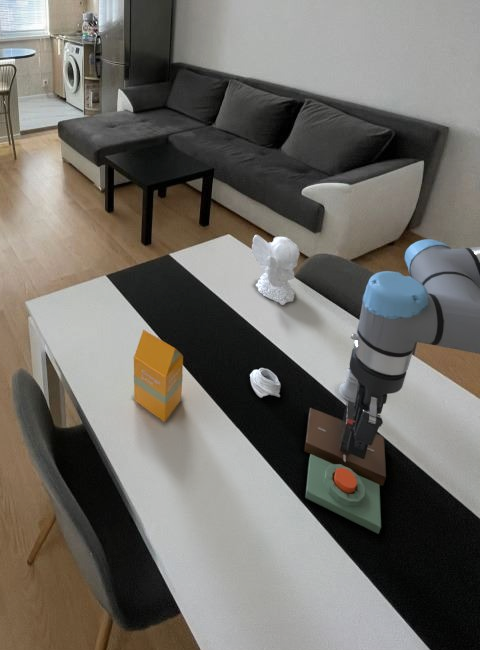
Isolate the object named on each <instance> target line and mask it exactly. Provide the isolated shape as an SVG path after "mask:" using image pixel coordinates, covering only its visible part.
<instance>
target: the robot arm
mask: <svg viewBox="0 0 480 650" xmlns="http://www.w3.org/2000/svg"><path fill="white" fill-rule="evenodd" d="M404 261H405V264H406V266H407V268H408V273H409V275H407V276H406V275H403V274H402V273H401V272H398V271H393V270H385V271H383V270H382V271H380V272H379V271H378V272H376V273H374V274H373V275H371V277H370V278H369V279H368V282H367V284H366V287H365V291H364V293H363V295H362V304H361V309H360V315H359V320H358V324H357V329H356V333H351V336H350V338H351V340H353V341H354V342H353V348H352V350H351V355H350V359H349V368H350V370H351V372H352V374H353V375H354V377H355V378H356V379H357V380H358V386H357V395H356V400H355V402H354V403H355V404H354V410H355V413H354V415H353V418H354V421H356V422H353V423H352V425H350V424H349V431H350V435H349V440H348V444H347V453H350V454H352V455H355V456H357V457H359V458H362V459H365V455H366V451H367V447H368V445H370V446H371V445H372V444H373V441H374V438H375V436H376V434H378V431H379V428H381V427H382V425H383V423H384V421H383V418H382V417H381V414H382V411H383V407H384V405H385V404H387V400H388V395H391V394H396V393H397V392H400V390H401V389H402V388H403V386H404V382H405V379H406V375H407V372H408V370H409V366H410V363H411V360H412V356H413V353H414V348H415V345H416V343H420V344H424V345H425V344H426V345H431V346H437V347H442V348H447V349H452V350H458V351H463V352H467V353H472V354H473V353H474V354H477V355H480V246H473V247H472V246H471V247H466V248H465V247H462V248H461V247H460V248H452V247H450V246H449V245H448V244H446V243H445V242H442V241H440V240H437V239H436V240H435V239H432V238H431V239H429V238H428V239H421V240H420V239H419V240H418V241H415V242H414V243H412V244H410V245H409V247H407V248H406V249H405V252H404Z"/></svg>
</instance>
